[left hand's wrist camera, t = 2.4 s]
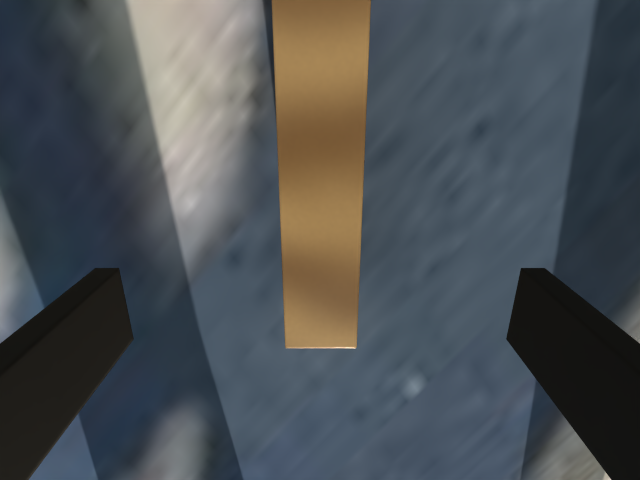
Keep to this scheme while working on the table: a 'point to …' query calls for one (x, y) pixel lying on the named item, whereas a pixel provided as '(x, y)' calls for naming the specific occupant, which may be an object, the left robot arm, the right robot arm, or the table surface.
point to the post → (321, 164)
